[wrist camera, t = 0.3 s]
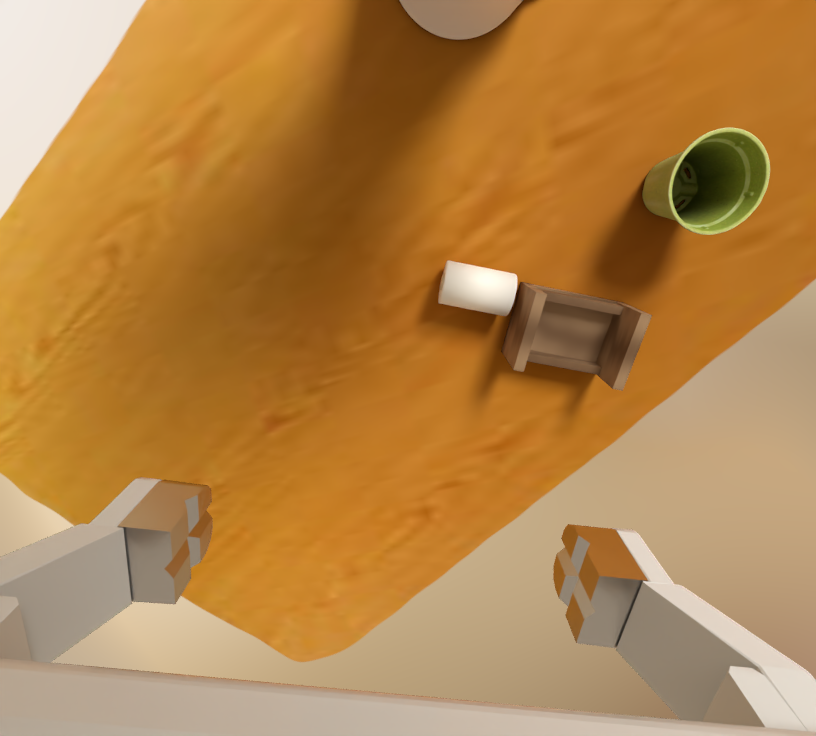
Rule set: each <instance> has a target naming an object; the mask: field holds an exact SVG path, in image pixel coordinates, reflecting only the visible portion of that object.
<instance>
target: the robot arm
mask: <svg viewBox="0 0 816 736" xmlns="http://www.w3.org/2000/svg"><path fill="white" fill-rule="evenodd" d="M399 1H400V3H401V4H402V6H403V7H404V9H405V10H406V12H407V13H408V14H409V16H410V17H411V18H412V19H413V20H414V21H415V22H416V23H417V24H419V25H420V26H421V27H422V28H424V29H425V30H427V31H429V32H430V33H432V34H435V35H437V36H440V37H443V38H447V39H455V40H462V39H470V38H475V37H478V36H481V35H483V34H485V33H487V32H489V31H491V30H493V29H494V28H496V27H497V26H499V25H500V24H501V23H502V22H503V21H505V20H506V19H507V18H508V17H509V16H510V14H511V13H512V12H513V11H514V10H515V9H516V8H517V6H518V5H519V4H520V3H521V2H522V1H523V0H399ZM211 502H212V498H211V489H210V487H209V486H208V485H201V484H193V483H185V482H178V481H170V480H161V479H152V478H144V477H140V478H137V479H135V480H133V481H132V482H131V483H130V484H129V485H128V486H127V487H126V488H125V489H124V490H123V491H122V492H121V493H120V494H119V495H118V496H117V497H116V498H115V499H114V500H113V501H112V502H111V503H110V504H109V505H108V506H107V507H106V508H105V509H104V510H103V511H102V512H101V513H100V514H99V515H97V516H96V517H95V518H94V519H93V520H92V521H91V522H90V523H89V524H79V525H76V526H74V527H71V528H69V529H67V530H64V531H62V532H59V533H57V534H54V535H52V536H50V537H47V538H45V539H43V540H40V541H38V542H35V543H33V544H30V545H28V546H26V547H23V548H21V549H18V550H16V551H13V552H11V553H9V554H6V555H4V556H2V557H0V736H816V680H815V679H814V677H813V676H812V675H811V674H810V673H809V672H807V670H805V669H804V668H802V667H801V666H799V665H798V664H796V663H795V662H793V661H792V660H790V659H789V658H788V657H786V656H784V655H783V654H782V653H780V652H779V651H777V650H776V649H774V648H773V647H771V646H770V645H768V644H767V643H765V642H764V641H763V640H761V639H760V638H758V637H757V636H755V635H754V634H752V633H751V632H749V631H748V630H746V629H745V628H743V627H742V626H740V625H739V624H738V623H736V622H735V621H733V620H732V619H730V618H729V617H727V616H726V615H724V614H723V613H721V612H720V611H718V610H717V609H716V608H714V607H713V606H711V605H710V604H708V603H707V602H705V601H704V600H702V599H701V598H699V597H698V596H696V595H695V594H693V593H692V592H691V591H689V590H688V589H686V588H685V587H683V586H681V585H675V584H674V583H673V582H672V581H671V579H670V578H669V576H668V575H667V573H666V572H665V571H664V569H663V568H662V566H661V565H660V564H659V562H658V561H657V559H656V558H655V557H654V555H653V554H652V552H651V551H650V549H649V548H648V547H647V545H646V544H645V542H644V541H643V540H642V538H641V537H640V535H639V534H638V533H637V532H635V531H634V530H630V529H617V528H610V529H608V528H598V527H589V526H579V525H569V524H568V525H567V526H566V528H565V529H564V532H563V535H562V541H563V543H564V545H565V548H564V549H562V550H561V551H560V552H559V553H557V555H556V559H555V563H554V583H555V588H556V591H557V594H558V597H559V598H560V599H561V600H562V601H563V602H564V603H565V604H566V605H567V606H568V609H567V612H566V618H567V620H568V623H569V625H570V628H571V631H572V633H573V636H574V638H575V641H576V643H579V644H587V645H596V646H603V647H611V648H616V651H617V652H618V653H619V654H620V655H621V656H622V657H623V658H624V659H625V661H626V662H627V663H628V664H629V665H630V666H631V667H632V668H633V669H634V670H635V671H636V672H637V673H638V675H639V676H640V677H641V678H642V679H643V680H644V681H645V682H646V683H647V684H648V685H649V686H650V687H651V688H652V690H653V691H654V692H655V693H656V694H657V695H658V696H659V697H660V698H661V699H662V700H663V701H664V702H665V703H666V705H667V706H668V707H669V708H670V709H671V710H672V711H673V712H674V713H675V714H676V715H677V717H678V718H679V719H680V720H677V719H667V718H656V717H644V716H633V715H622V714H610V713H598V712H587V711H577V710H566V709H555V708H545V707H534V706H523V705H512V704H500V703H491V702H479V701H469V700H458V699H447V698H436V697H424V696H414V695H403V694H390V693H380V692H370V691H358V690H347V689H337V688H325V687H314V686H303V685H291V684H281V683H269V682H259V681H248V680H237V679H226V678H215V677H204V676H192V675H181V674H171V673H159V672H149V671H138V670H126V669H115V668H104V667H94V666H83V665H72V664H61V663H50V662H52V661H53V660H54V659H56V658H57V657H59V656H60V655H61V654H63V653H64V652H66V651H67V650H68V649H70V648H71V647H73V646H74V645H75V644H77V643H78V642H79V641H81V640H82V639H84V638H85V637H86V636H88V635H89V634H91V633H92V632H93V631H95V630H96V629H97V628H99V627H100V626H102V625H103V624H104V623H106V622H107V621H109V620H110V619H111V618H113V617H114V616H115V615H117V614H118V613H120V612H121V611H122V610H124V609H125V608H127V607H128V606H129V605H130V604H132V601H134V602H149V603H164V604H176V602H177V600H178V599H179V597H180V596H181V594H182V592H183V591H184V589H185V587H186V586H187V584H188V582H189V581H190V579H191V569H190V568H191V567H193V566H195V565H196V564H198V563H200V562H201V560H202V558H203V557H204V555H205V553H206V551H207V548H208V545H209V542H210V539H211V534H212V517H211V516H210V515H209V513H208V512H207V511H206V509H207V508H208V506H209V505H210V503H211Z"/></svg>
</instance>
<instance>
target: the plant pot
mask: <svg viewBox="0 0 816 736" xmlns="http://www.w3.org/2000/svg"><path fill="white" fill-rule="evenodd" d="M684 168H687V169H688V170H689V172H690V174H691V178H690V179H688V177H687V174H686V172H685V171H684ZM769 177H770V163H769V158H768V154H767V152H766V150H765V148H764V146H763V144H762V143H761V142H760V140H759V139H758V138H757V137H755V136H754V135H753V134H751V133H749V132H747V131H745V130H742V129H737V128H721V129H717V130H714V131H711V132H708V133H706V134H704V135H702V136H701V137H699V138H698V139H696V140H695V141H694V142H693V143H691V144H690V145H689V146H688V147H687V148H686V149H685V150H684V151H683V152H681V153H679V154H677V155H675V156H672V157H670V158H668V159H666V160H664V161H662V162H660V163H658V164H657V165H656V166H655V167H653V169H652V170H651V171H650V172H649V173H648V175H647V177H646V179H645V183H644V188H643V192H642V197H643V201H644V204H645V206H646V207H647V209H648V210H649V211H650V212H652V213H653V214H655V215H658V216H662V217H665V218H669V219H672V220H675V221H677V222H678V223H679V224H680V225H681V226H683V227H684V228H685V229H687V230H689V231H691V232H694V233H698V234H704V235H712V234H718V233H722V232H725V231H728V230H730V229H732V228H734V227H736V226H737V225H739V224H740V223H742V222H743V221H744V220H746V219H747V218H748V217H749V216H750V215H751V214H752V212H753V211H754V210H755V209H756V208H757V207H758V205H759V203H760V202H761V200H762V198H763V196H764V194H765V192H766V189H767V186H768V182H769ZM672 187H673V189H672ZM682 200H685V202H684V203H683V204H682V205H681V206H680V207H679V208H677V209H675V207H674V206H676V205H677V204H679V203H680V202H681V201H682Z"/></svg>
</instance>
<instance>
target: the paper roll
mask: <svg viewBox="0 0 816 736" xmlns="http://www.w3.org/2000/svg"><path fill="white" fill-rule="evenodd" d="M516 290H517V275H516V274H513V273H508V272H503V271H498V270H493V269H488V268H483V267H478V266H474V265H469V264H464V263H459V262H454V261H449V260H447V262H446V264H445V268H444V271H443V274H442V278H441V282H440V290H439V298H438V303H440V304H445V305H450V306H455V307H460V308H465V309H470V310H475V311H481V312H486V313H491V314H496V315H501V316H507V315H508V314H509V312H510V310H511V308H512V305H513V303H514V299H515V295H516Z"/></svg>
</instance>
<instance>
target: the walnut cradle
mask: <svg viewBox="0 0 816 736" xmlns="http://www.w3.org/2000/svg"><path fill="white" fill-rule="evenodd" d="M651 317H652V315H650V314H648V313H646V312H643V311H641V310H639V309H636V308H634V307H632V306H630V305H627V304H625V303H623V302H618V301H613V300H608V299H603V298H598V297H593V296H588V295H583V294H578V293H573V292H568V291H563V290H559V289H554V288H549V287H544V286H539V285H534V284H529V283H524V282H521V283H520V287H519V290H518V294H517V297H516V301H515V305H514V308H513V312H512V315H511V319H510V322H509V326H508V329H507V333H506V337H505V340H504V344H503V347H502V353H503V355H504V356H505V358H506V359H507V361H508V362H509V364H510V365H511V367H512V369H513V370H516V371H521V372H524V369H525V366H526V363H527V361H529V362H534V363H540V364H545V365H550V366H555V367H561V368H566V369H571V370H576V371H582V372H587V373H592V374H597V375H598V376H599V377H600V378H601V379H602V380H603V381H604V382H606V383H607V384H608V385H609V386H610V387H611V388H612V389H617V390H622V391H623V388H624V386H625V383H626V381H627V378H628V375H629V373H630V370H631V368H632V365H633V363H634V360H635V357H636V355H637V352H638V350H639V347H640V345H641V342H642V340H643V337H644V334H645V332H646V329H647V327H648V324H649V322H650V319H651Z"/></svg>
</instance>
